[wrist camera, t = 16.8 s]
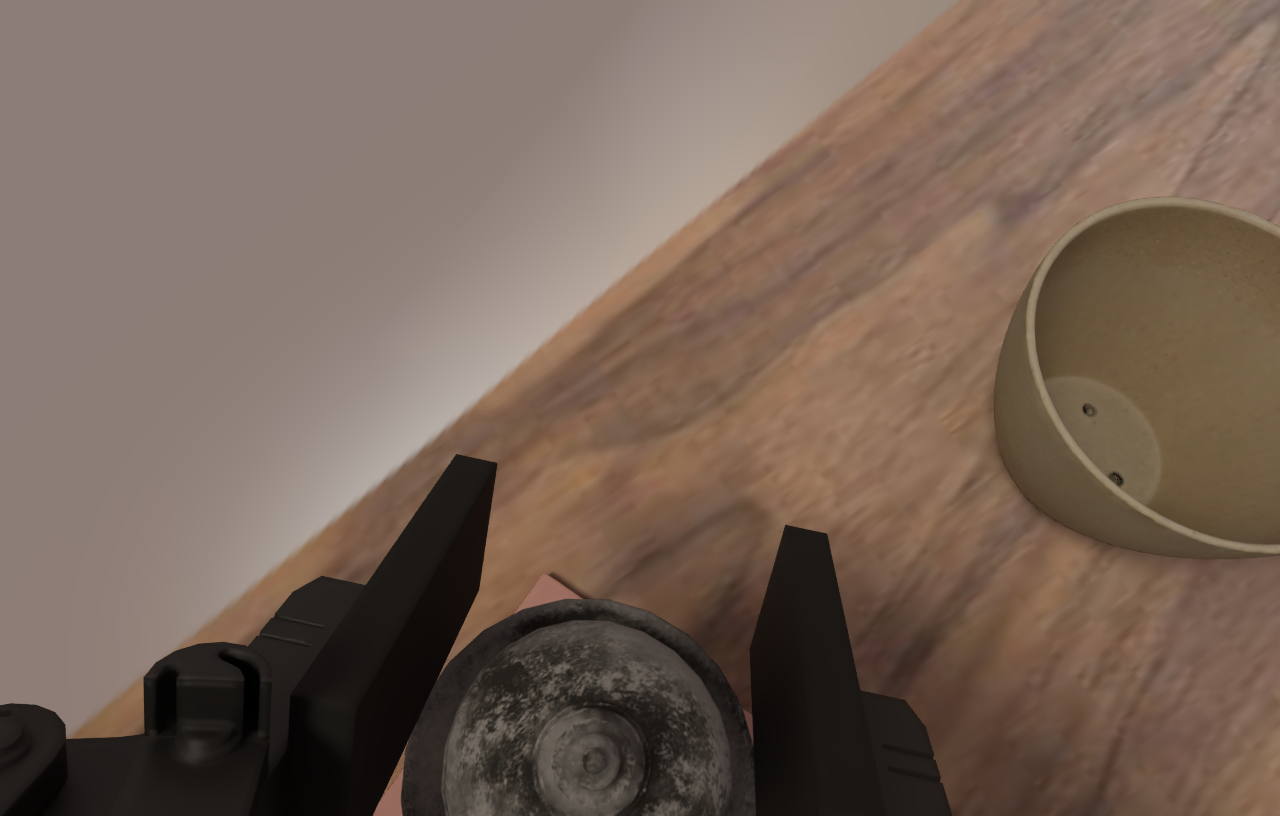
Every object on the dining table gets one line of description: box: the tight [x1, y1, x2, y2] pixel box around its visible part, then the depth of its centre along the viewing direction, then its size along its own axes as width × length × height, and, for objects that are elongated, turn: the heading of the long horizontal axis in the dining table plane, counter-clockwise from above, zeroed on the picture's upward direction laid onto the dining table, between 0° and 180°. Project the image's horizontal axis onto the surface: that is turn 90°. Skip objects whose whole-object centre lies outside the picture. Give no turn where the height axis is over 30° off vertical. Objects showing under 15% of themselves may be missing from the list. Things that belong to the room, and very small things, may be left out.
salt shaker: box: [400, 599, 756, 816], centre depth 13 cm, size 6×6×12 cm
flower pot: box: [994, 197, 1280, 559], centre depth 26 cm, size 10×10×7 cm
